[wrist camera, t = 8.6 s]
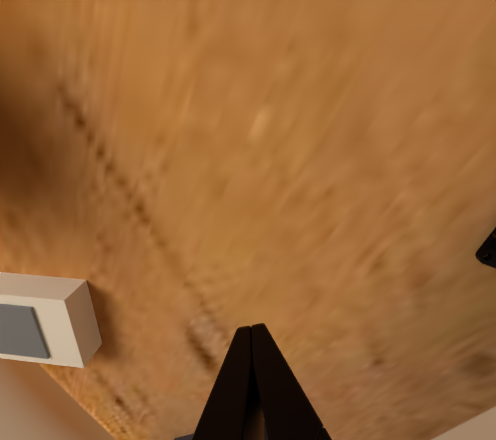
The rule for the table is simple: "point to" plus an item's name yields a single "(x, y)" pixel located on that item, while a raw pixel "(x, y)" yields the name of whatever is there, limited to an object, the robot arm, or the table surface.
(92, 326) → the white box grey panel
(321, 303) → the table surface
